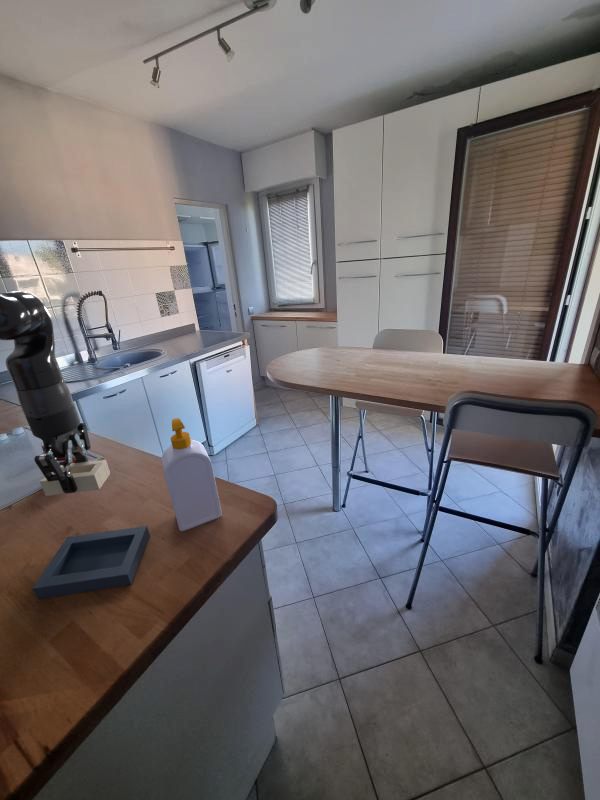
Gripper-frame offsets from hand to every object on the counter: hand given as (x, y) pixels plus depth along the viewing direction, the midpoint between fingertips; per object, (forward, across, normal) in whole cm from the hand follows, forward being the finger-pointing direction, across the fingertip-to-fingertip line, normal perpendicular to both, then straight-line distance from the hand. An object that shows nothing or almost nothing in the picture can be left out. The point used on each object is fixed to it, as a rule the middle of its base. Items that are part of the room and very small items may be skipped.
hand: (78, 482), depth 68 cm
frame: (+1, 0, 0) cm, 1 cm away
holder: (+12, +11, +5) cm, 17 cm away
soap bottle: (+12, +1, +22) cm, 25 cm away
